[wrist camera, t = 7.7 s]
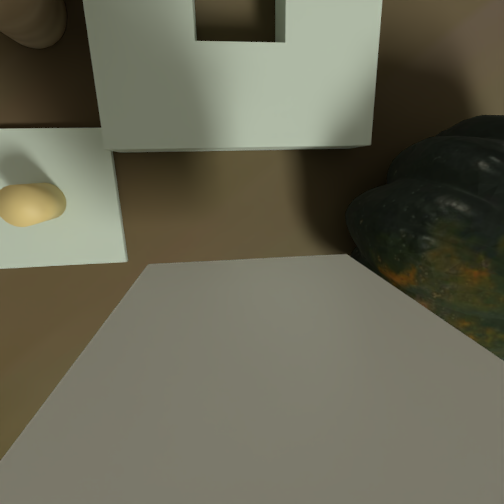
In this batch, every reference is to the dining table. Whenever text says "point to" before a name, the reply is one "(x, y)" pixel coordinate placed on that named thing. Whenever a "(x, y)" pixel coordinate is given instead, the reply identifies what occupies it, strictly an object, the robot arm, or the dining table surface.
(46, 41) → the peg
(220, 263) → the block
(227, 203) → the dining table surface
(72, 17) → the dining table surface
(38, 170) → the tile
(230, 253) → the dining table surface
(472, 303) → the squash
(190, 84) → the peg board
